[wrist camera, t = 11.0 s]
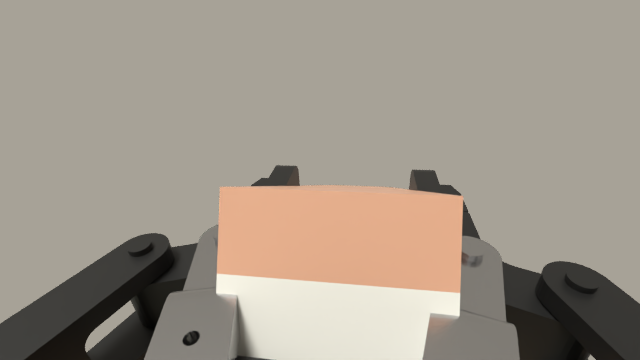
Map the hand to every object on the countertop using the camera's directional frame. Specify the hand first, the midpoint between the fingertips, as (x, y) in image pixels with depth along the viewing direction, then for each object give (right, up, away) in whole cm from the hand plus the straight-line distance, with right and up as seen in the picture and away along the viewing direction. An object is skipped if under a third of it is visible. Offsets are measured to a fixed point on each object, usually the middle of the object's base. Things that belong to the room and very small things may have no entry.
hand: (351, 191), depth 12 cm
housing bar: (0, -3, +3) cm, 4 cm away
